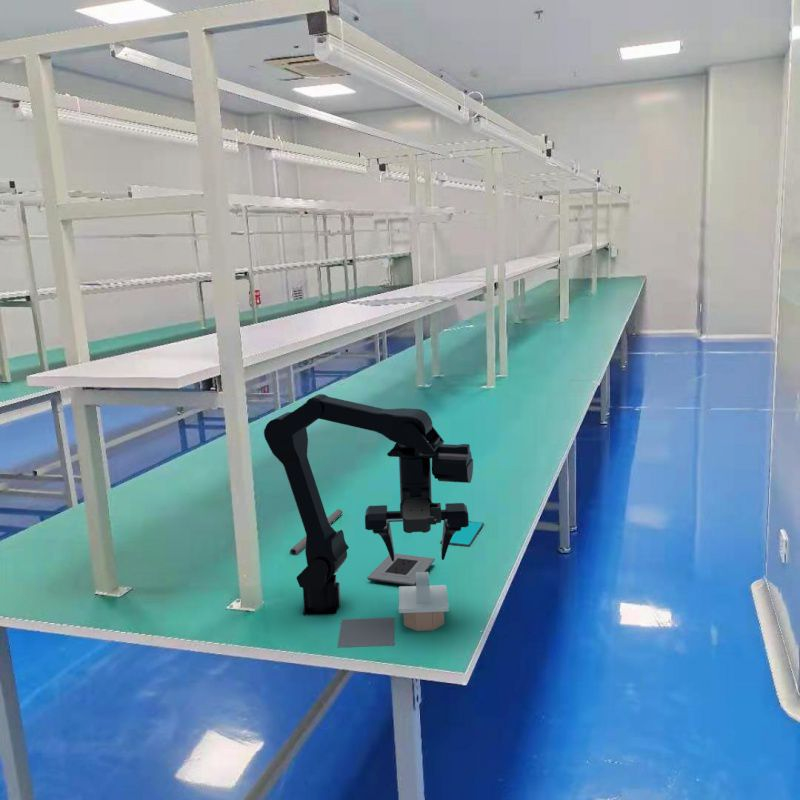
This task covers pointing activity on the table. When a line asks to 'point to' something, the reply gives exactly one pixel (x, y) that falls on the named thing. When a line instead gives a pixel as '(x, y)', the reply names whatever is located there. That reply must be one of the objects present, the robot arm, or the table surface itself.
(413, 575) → the electrical outlet
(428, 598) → the lid
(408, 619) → the bowl
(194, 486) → the table surface
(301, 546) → the metal rod
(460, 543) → the smartphone
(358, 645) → the mat
